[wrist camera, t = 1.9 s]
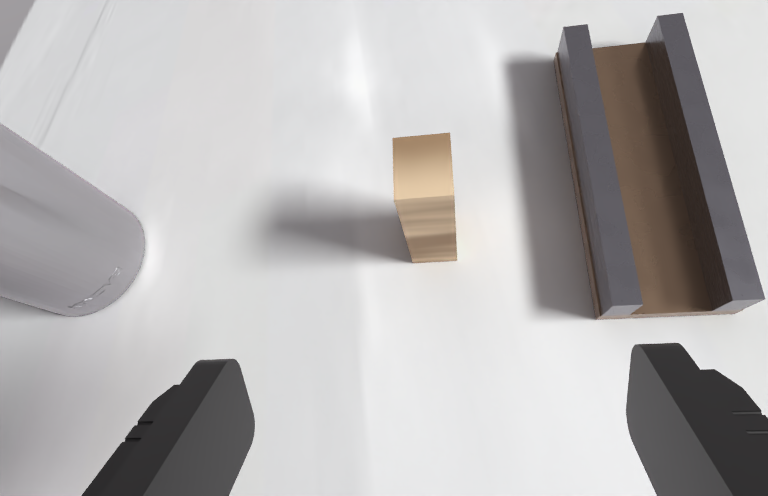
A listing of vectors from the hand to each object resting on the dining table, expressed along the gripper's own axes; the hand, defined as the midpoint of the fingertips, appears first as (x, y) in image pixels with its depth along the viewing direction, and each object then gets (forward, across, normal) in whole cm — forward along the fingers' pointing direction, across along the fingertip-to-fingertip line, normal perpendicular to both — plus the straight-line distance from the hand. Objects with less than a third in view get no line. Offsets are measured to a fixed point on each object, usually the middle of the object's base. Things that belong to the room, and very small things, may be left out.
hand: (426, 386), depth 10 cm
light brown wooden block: (+24, +1, +7) cm, 25 cm away
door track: (+27, -13, +4) cm, 30 cm away
